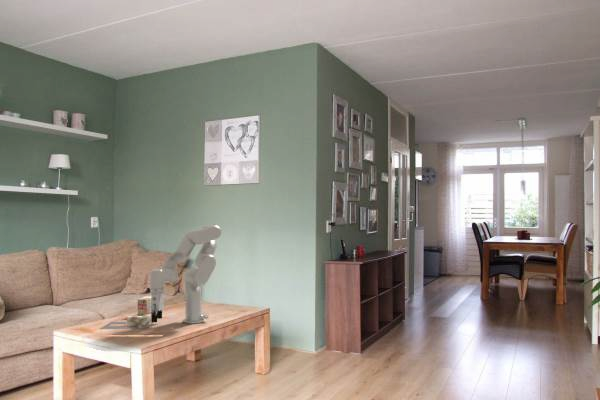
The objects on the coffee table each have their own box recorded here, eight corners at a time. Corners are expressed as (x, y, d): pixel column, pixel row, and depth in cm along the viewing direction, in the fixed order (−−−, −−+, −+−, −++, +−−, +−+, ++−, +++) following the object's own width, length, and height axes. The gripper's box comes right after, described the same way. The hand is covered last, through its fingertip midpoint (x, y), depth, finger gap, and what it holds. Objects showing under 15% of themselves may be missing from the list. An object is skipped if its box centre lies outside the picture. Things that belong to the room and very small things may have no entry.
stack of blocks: (153, 311, 331) (153, 293, 332) (162, 312, 330) (162, 293, 331) (137, 318, 310) (137, 298, 311) (146, 319, 309) (146, 299, 309)
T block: (151, 322, 294) (151, 314, 294) (144, 327, 282) (144, 318, 282) (131, 322, 294) (131, 314, 294) (124, 327, 282) (124, 318, 282)
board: (154, 323, 297) (154, 321, 297) (145, 330, 279) (145, 328, 279) (111, 323, 297) (111, 321, 297) (98, 330, 279) (98, 328, 279)
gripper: (159, 293, 279) (158, 323, 279) (167, 288, 297) (167, 317, 296) (145, 293, 280) (145, 323, 279) (155, 288, 297) (154, 317, 296)
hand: (156, 320), depth 288 cm, fingers open, 9 cm apart
